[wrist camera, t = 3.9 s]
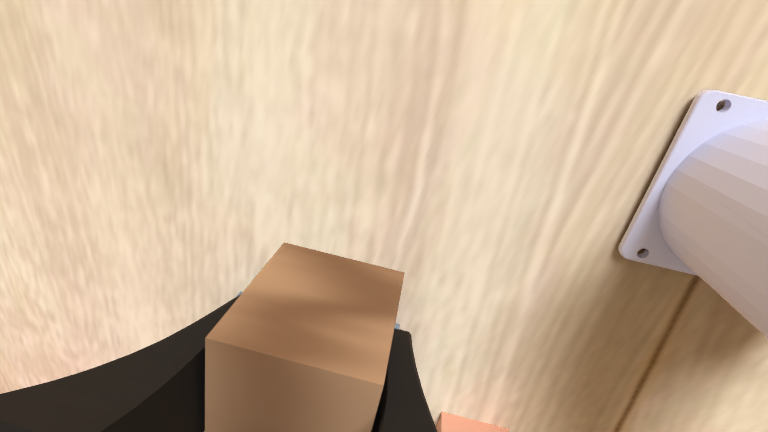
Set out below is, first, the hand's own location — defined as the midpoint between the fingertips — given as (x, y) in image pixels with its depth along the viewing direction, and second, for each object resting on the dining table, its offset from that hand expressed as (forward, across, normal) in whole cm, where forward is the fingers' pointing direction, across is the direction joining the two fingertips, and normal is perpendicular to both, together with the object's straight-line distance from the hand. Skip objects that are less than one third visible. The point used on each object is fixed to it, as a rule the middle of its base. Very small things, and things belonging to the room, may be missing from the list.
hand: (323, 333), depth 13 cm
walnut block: (+2, 0, 0) cm, 2 cm away
